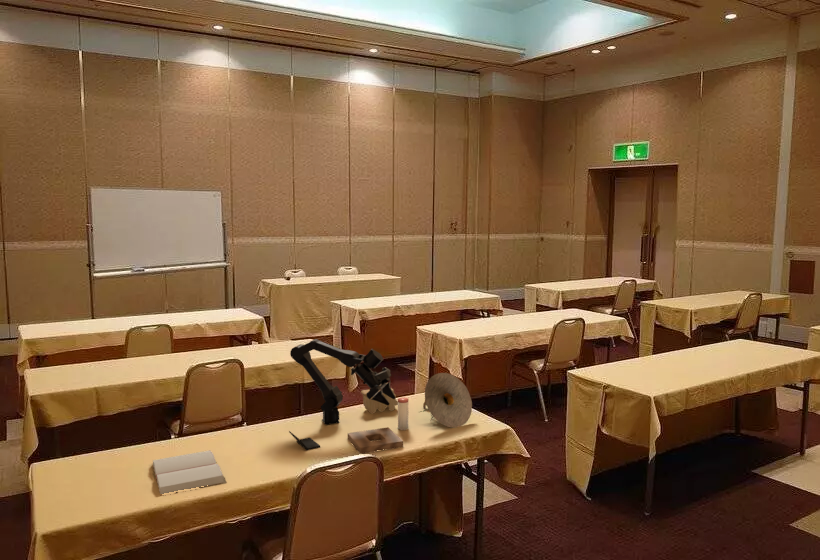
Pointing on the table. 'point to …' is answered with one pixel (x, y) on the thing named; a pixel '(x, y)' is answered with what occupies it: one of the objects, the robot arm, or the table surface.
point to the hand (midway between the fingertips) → (391, 401)
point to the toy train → (374, 405)
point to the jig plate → (382, 436)
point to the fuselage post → (402, 413)
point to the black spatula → (306, 443)
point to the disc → (448, 400)
